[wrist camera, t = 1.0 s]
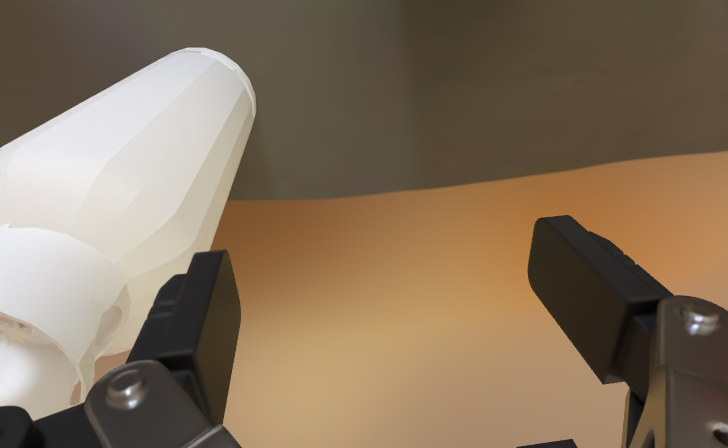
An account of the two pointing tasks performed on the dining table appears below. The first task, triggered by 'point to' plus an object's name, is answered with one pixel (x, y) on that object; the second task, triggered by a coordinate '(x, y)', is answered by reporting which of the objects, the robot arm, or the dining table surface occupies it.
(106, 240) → the bottle
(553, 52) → the dining table surface
